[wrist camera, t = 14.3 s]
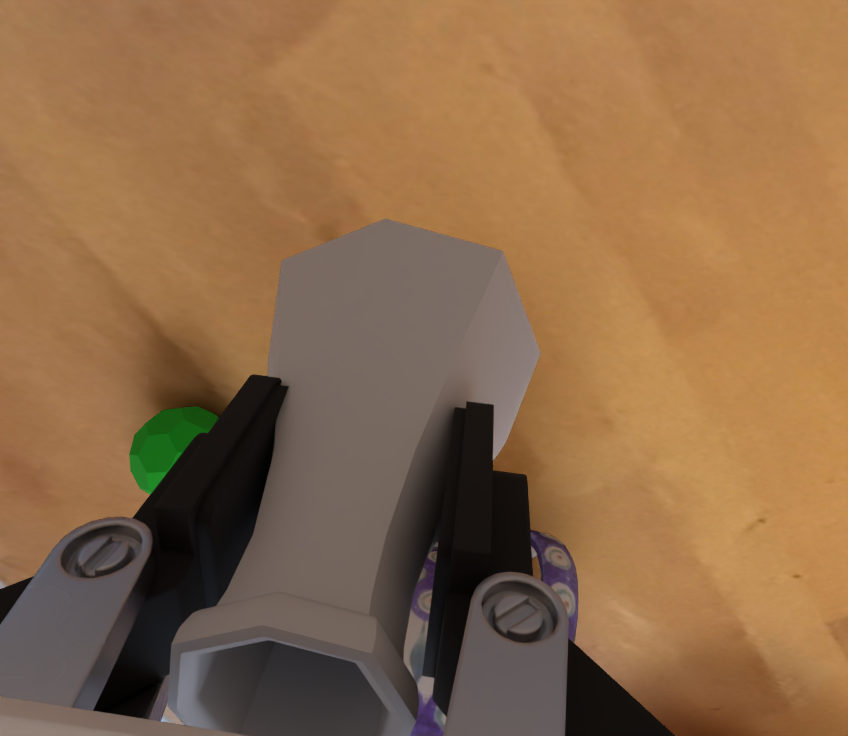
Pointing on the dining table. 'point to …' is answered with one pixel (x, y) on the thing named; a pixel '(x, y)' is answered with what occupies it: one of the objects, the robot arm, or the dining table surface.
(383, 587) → the flask
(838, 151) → the dining table surface
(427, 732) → the teapot
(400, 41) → the dining table surface
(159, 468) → the polyhedron
